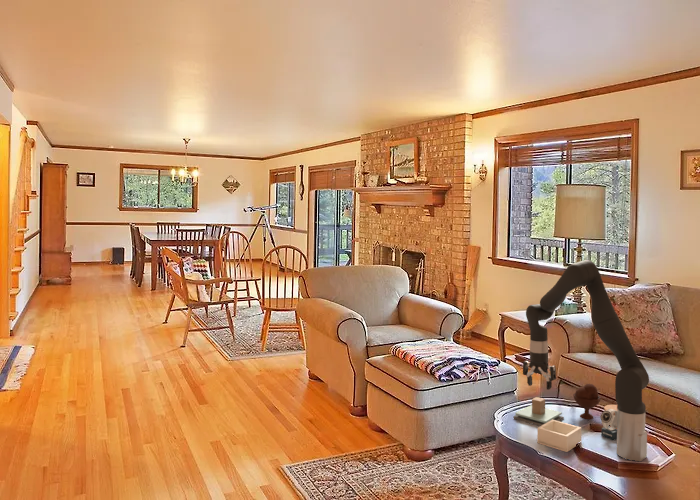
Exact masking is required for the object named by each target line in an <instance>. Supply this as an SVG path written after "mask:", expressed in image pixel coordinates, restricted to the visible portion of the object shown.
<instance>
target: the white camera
mask: <svg viewBox="0 0 700 500" xmlns="http://www.w3.org/2000/svg"><path fill="white" fill-rule="evenodd" d="M617 407H618V406H617V404H607V405H605V406H604V407H603V412H604V411H606V410H608V409H613V410H616V411H617ZM614 417H615V413H614V414H613V419H614ZM612 423H613V421H612V422H611V423H610V426H612ZM616 428H617V427H616Z"/></svg>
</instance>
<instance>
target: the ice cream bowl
mask: <svg viewBox="0 0 700 500" xmlns="http://www.w3.org/2000/svg"><path fill="white" fill-rule="evenodd" d="M573 399H574V401H575V402H576V404H577V405H578V406H580V407H581V408H583V410H584V412H583V413H582V414H580V415H579V418H580V419H583V420H588V421H589V420H593V419H594V416H593V415H592V414H591V413H590V409H593V408H596V406H597V405H599V403H600V402H601V399H602V396H600V395H599V394H598V389H597V387H596V386H595V385H594V384H593V383H585V385H583V386H579V387H578V388H577V389H576V390H575V393H573Z"/></svg>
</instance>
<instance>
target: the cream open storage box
mask: <svg viewBox="0 0 700 500" xmlns="http://www.w3.org/2000/svg"><path fill="white" fill-rule="evenodd" d="M536 430H537V435H536V436H537V439H536V440H537V441H536V442H537V444H540V445H543V446H547V447H549V448H553V449H557V450H559V451H562V452H566V453H567V452H569V451H571V450H572V449H574V448H575V447H577V446H576V444H577V443H578V442H580V441H581V442H582V427H581V426H578V425H573V424H570V423H566V422H563V421H556V420H551V421H549V422H547V423H545V424H544V425H542V426H538V427H537V429H536Z"/></svg>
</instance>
